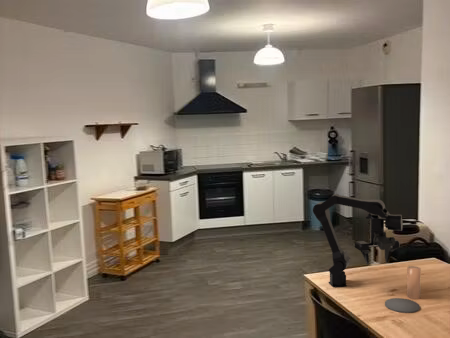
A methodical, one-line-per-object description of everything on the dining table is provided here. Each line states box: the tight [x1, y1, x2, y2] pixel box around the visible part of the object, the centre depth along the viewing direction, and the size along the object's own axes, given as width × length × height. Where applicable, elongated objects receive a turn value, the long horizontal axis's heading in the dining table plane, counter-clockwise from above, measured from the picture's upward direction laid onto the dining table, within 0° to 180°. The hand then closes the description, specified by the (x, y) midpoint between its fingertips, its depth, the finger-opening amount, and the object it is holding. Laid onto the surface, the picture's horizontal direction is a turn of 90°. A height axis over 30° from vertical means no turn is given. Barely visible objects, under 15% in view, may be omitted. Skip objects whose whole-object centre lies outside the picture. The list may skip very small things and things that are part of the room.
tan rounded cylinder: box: [406, 265, 422, 300], centre depth 189 cm, size 5×5×12 cm
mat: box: [384, 297, 421, 314], centre depth 181 cm, size 13×13×1 cm
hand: (377, 263), depth 198 cm, fingers open, 9 cm apart
